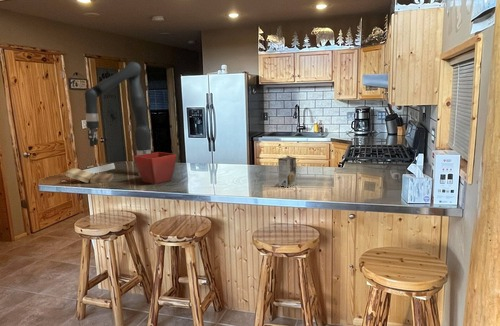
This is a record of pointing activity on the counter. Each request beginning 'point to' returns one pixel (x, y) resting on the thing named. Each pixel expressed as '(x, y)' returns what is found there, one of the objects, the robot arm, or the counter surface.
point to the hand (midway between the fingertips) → (93, 145)
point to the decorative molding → (100, 168)
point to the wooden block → (101, 178)
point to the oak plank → (79, 175)
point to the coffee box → (287, 171)
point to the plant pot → (155, 166)
